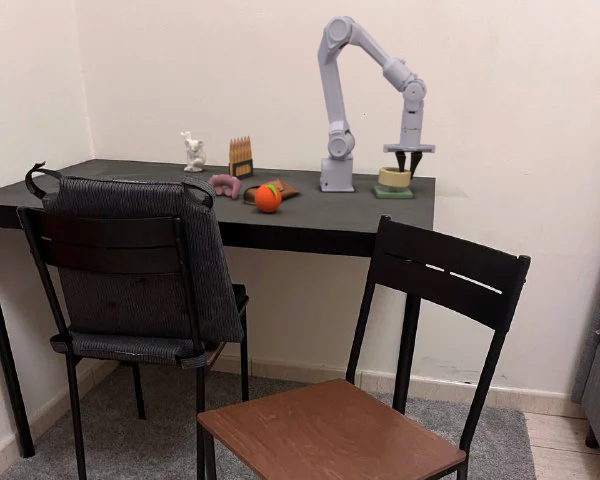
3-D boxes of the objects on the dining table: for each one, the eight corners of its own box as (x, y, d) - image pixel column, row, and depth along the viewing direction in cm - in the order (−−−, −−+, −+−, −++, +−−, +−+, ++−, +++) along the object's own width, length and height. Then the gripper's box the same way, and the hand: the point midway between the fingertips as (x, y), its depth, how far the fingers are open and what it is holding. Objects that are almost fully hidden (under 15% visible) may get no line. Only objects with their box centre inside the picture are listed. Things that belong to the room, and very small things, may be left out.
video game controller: (240, 203, 175) (244, 177, 174) (234, 198, 170) (238, 173, 170) (209, 199, 177) (212, 175, 177) (202, 195, 173) (206, 170, 172)
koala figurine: (177, 171, 203) (174, 131, 197) (191, 167, 208) (188, 129, 202) (197, 174, 200) (194, 134, 193) (210, 170, 205) (208, 131, 198)
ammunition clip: (233, 181, 192) (231, 139, 186) (228, 180, 193) (226, 139, 186) (253, 175, 200) (252, 135, 193) (249, 174, 200) (247, 134, 194)
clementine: (288, 214, 159) (288, 185, 156) (265, 217, 156) (265, 189, 153) (272, 207, 165) (272, 179, 161) (250, 210, 162) (249, 182, 158)
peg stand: (378, 198, 176) (379, 175, 172) (373, 190, 184) (374, 168, 181) (412, 198, 176) (415, 175, 173) (406, 190, 185) (408, 168, 181)
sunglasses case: (268, 205, 165) (257, 181, 163) (250, 215, 169) (239, 192, 168) (302, 192, 178) (292, 170, 176) (284, 202, 182) (274, 180, 181)
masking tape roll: (380, 185, 174) (382, 172, 173) (376, 178, 182) (378, 166, 180) (411, 187, 175) (413, 174, 173) (405, 181, 183) (407, 168, 181)
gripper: (387, 130, 167) (383, 181, 174) (440, 130, 168) (433, 182, 175) (383, 126, 173) (379, 176, 180) (434, 126, 174) (428, 176, 181)
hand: (406, 179), depth 178 cm, fingers closed on masking tape roll, 2 cm apart
